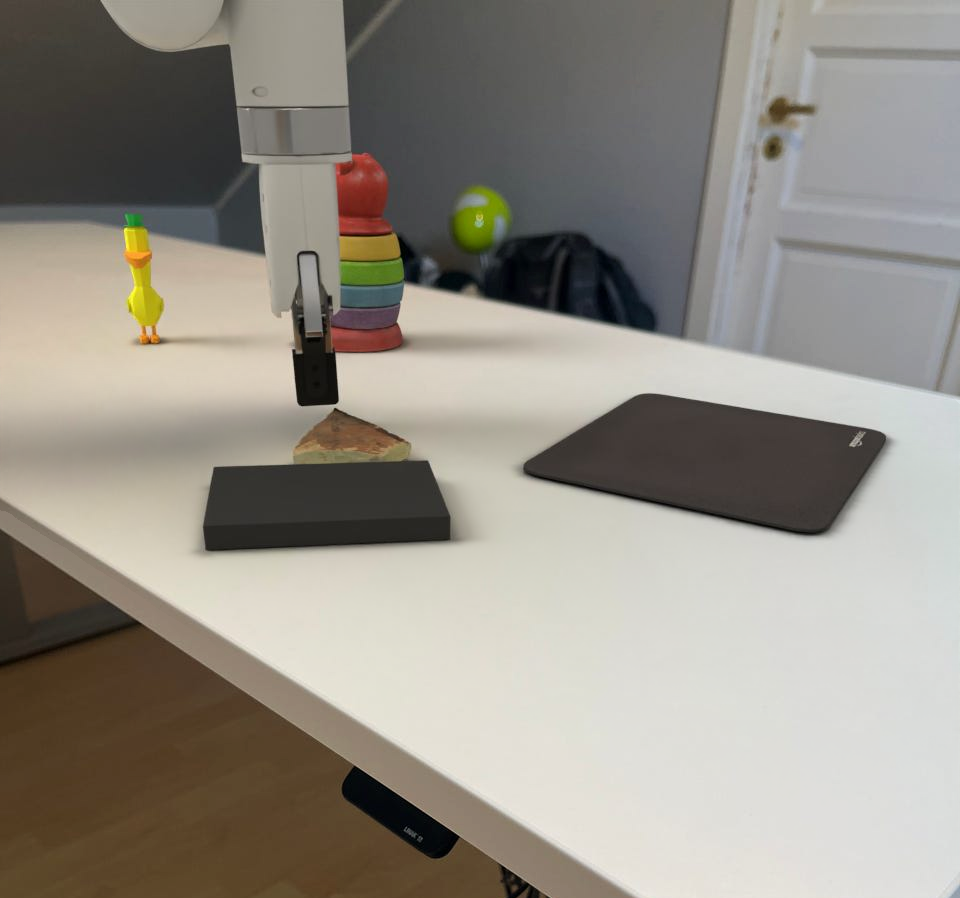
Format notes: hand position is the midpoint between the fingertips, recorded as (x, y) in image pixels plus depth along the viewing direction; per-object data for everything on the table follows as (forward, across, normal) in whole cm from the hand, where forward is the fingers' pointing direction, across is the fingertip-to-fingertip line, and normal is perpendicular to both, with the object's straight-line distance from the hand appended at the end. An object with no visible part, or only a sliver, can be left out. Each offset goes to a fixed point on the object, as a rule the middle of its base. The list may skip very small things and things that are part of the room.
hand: (317, 402), depth 76 cm
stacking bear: (+2, -29, +5) cm, 29 cm away
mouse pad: (+3, +10, +29) cm, 31 cm away
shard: (+2, +8, +1) cm, 8 cm away
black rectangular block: (+2, +19, 0) cm, 19 cm away
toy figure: (+2, -30, -16) cm, 34 cm away
